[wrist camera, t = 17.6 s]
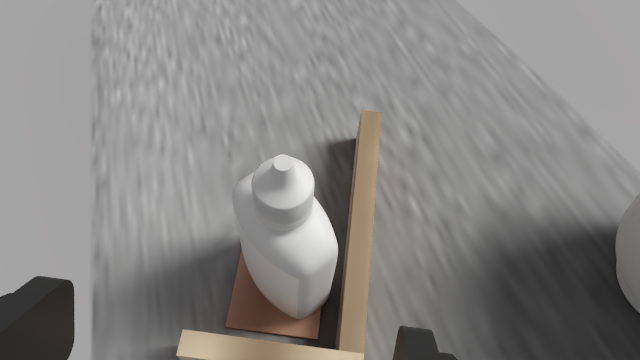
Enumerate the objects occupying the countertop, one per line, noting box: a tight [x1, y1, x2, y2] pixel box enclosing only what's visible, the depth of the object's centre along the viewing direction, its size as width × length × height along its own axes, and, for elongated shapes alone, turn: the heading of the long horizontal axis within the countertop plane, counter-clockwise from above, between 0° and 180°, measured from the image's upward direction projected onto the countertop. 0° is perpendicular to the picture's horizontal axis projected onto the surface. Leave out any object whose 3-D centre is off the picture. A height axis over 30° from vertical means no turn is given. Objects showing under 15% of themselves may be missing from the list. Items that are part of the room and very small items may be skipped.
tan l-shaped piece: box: [176, 110, 381, 360], centre depth 28 cm, size 9×16×3 cm, turn 173°
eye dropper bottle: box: [232, 154, 338, 319], centre depth 23 cm, size 4×6×12 cm
